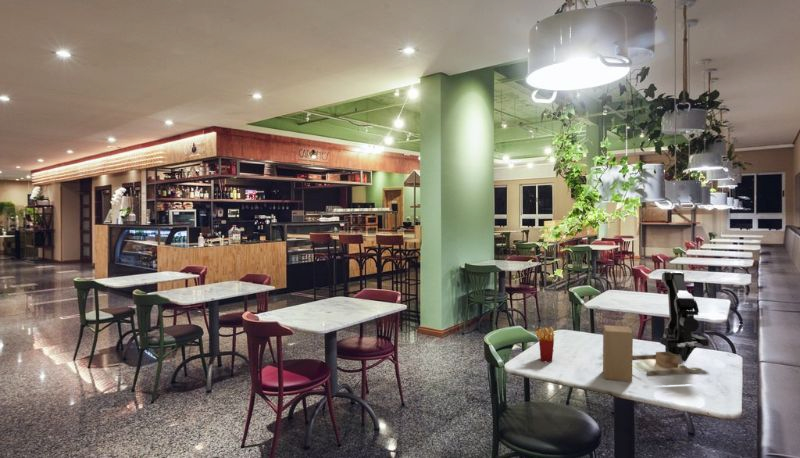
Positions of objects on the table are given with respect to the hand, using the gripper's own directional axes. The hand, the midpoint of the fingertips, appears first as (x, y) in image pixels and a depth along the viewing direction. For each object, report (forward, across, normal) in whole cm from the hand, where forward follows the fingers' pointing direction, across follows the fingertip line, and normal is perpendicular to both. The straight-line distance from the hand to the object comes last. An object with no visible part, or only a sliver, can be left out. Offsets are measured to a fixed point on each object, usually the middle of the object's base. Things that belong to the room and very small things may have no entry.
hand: (684, 361), depth 199 cm
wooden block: (+3, +35, +8) cm, 36 cm away
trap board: (+2, +12, 0) cm, 12 cm away
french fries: (+3, +56, -16) cm, 58 cm away
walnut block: (+2, +8, 0) cm, 8 cm away
